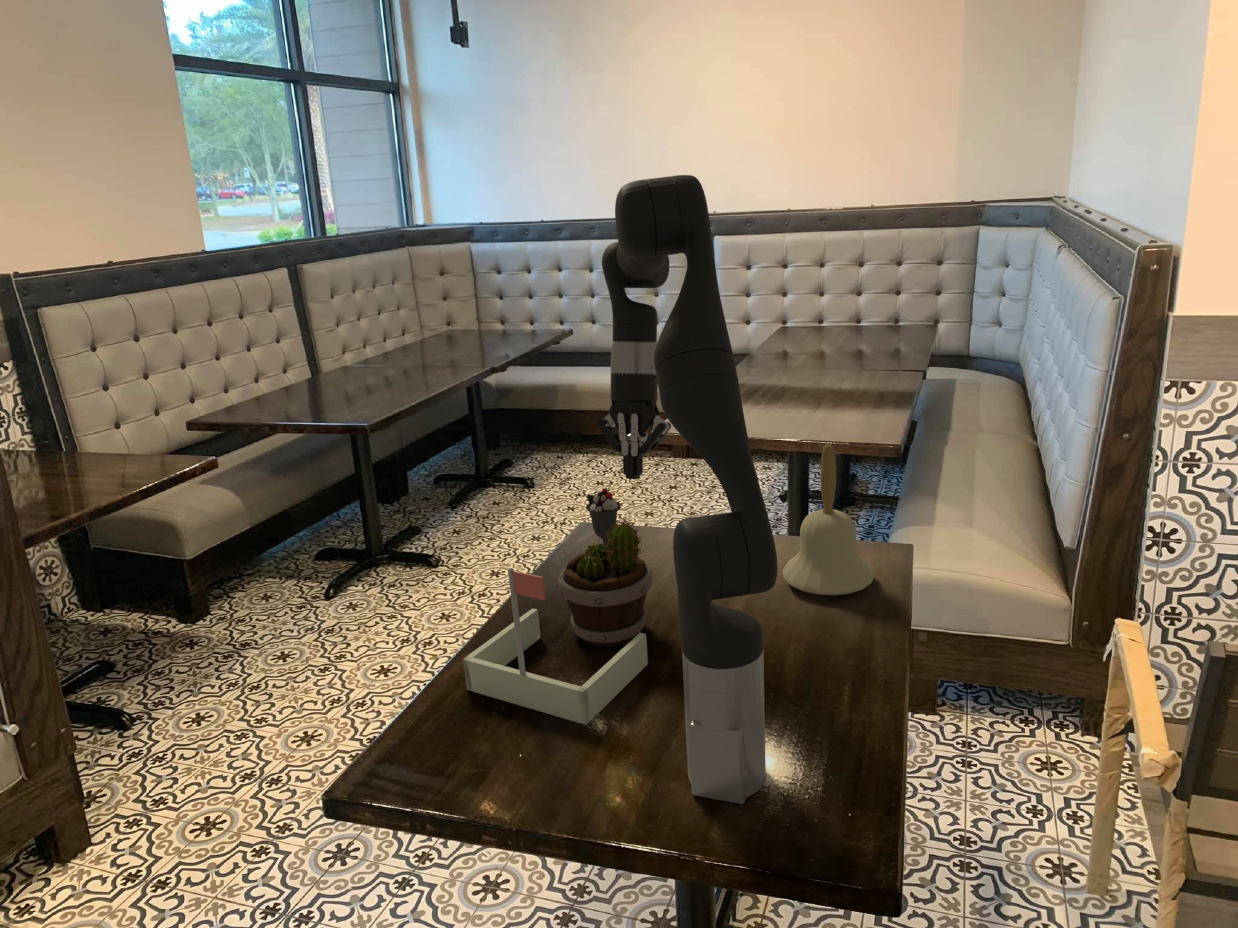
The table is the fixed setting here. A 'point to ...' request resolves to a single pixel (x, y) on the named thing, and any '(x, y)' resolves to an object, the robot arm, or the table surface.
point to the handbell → (828, 545)
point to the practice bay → (538, 691)
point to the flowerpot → (608, 589)
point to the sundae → (603, 513)
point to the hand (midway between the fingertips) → (632, 478)
